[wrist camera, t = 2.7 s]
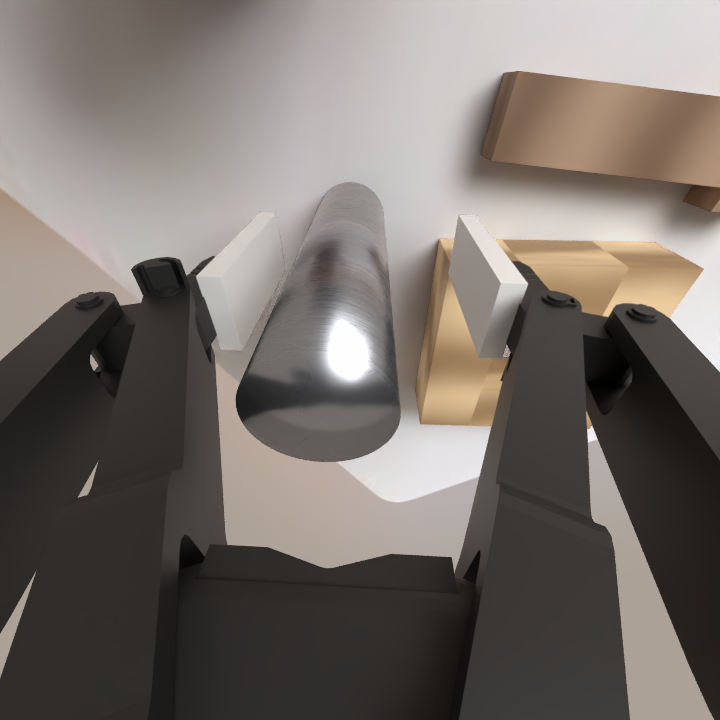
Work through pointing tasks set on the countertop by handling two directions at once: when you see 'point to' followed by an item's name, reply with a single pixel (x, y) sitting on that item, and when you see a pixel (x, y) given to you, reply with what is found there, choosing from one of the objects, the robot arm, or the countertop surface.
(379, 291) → the pin
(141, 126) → the countertop surface
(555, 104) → the bar
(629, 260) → the socket block
